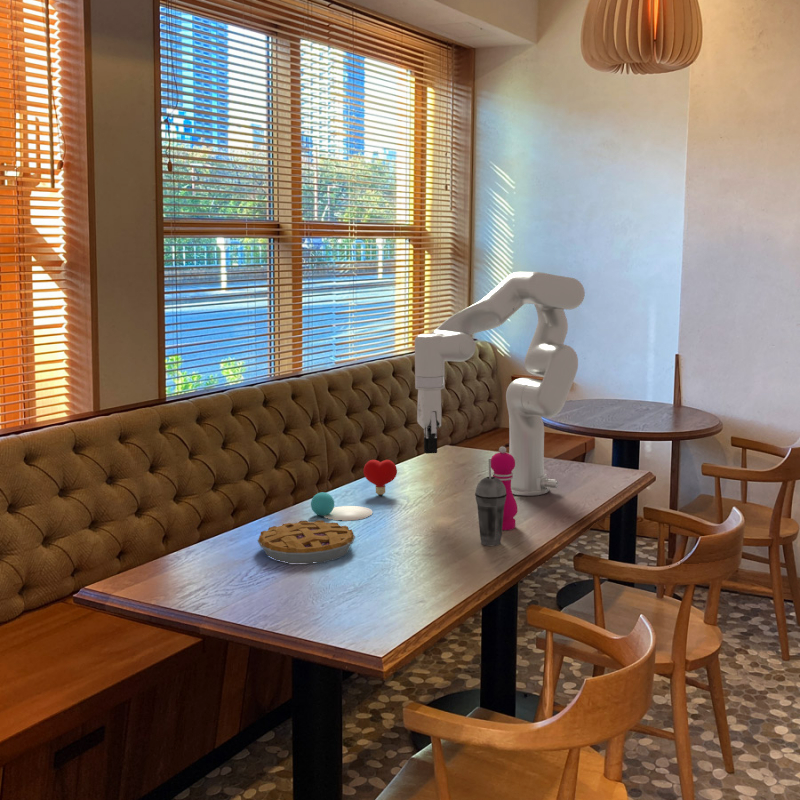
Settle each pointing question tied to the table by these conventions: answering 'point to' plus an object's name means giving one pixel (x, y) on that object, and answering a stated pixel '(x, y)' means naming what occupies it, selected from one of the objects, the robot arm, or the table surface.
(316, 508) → the ball
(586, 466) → the table surface
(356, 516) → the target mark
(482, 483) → the beverage cup
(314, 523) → the pie
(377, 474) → the light bulb
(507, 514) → the pepper mill
